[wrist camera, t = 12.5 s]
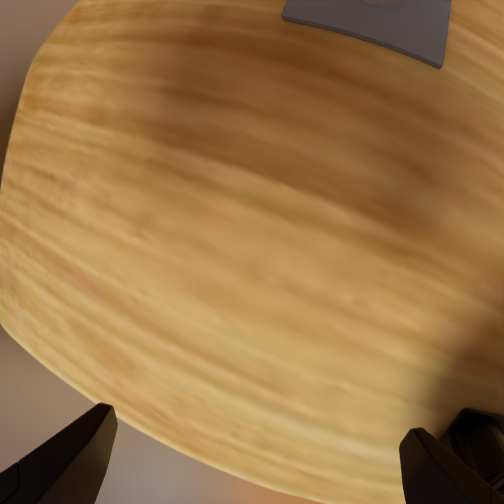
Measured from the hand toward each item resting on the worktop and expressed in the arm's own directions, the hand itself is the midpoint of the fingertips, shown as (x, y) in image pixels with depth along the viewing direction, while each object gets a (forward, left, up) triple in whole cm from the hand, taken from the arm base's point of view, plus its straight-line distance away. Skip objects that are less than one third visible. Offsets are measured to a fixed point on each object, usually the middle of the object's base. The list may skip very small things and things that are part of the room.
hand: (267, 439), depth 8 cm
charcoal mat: (+2, -22, -11) cm, 24 cm away
